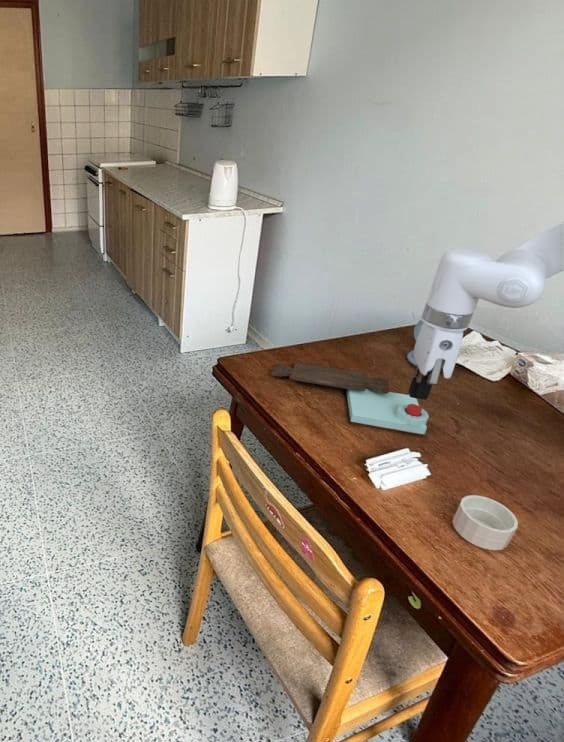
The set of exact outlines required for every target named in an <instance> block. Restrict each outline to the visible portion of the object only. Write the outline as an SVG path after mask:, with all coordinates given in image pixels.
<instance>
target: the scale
mask: <svg viewBox="0 0 564 742" xmlns="http://www.w3.org/2000/svg"><path fill="white" fill-rule="evenodd" d="M346 398H347V406H348V412H349V419H350V422H352V423H358V424H362V425H369V426H374V427H379V428H386V429H390V430H397V431H402V432H408V433H413V434H419V435H426V431H427V423H428V420H429V416H430V415H429V413H428V412H427V411H426V410H425V409H423V408H422V411H421V414H420V416H419V417H415V416H411V415H409V414H407V413H406V409H407V406H408V405H409V404H415V405H418V406H420V404H419V401H418V399H417V398H411V397H410V396H409V394H404V393H400V392H399V393H398V392H393V391H388V393H386V394H382V393H377V392H374V391H372V390H370V389H368V388H366V387H365V391H357V390H350V389H346Z"/></svg>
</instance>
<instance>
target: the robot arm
mask: <svg viewBox="0 0 564 742" xmlns="http://www.w3.org/2000/svg"><path fill="white" fill-rule="evenodd" d="M563 271H564V221H563V222H561V223H558V224H556V225H554V226H552V227H550V228H548V229H546V230H544V231H543V232H541V233H538V234H537V235H535V236H533V237H532V238H529V239H528V240H526V241H524V242H523V243H520V244H519V245H517V246H515V247H513V248H512V249H510V250H508V251H507V252H505V253H504V254H502V255H501V256H500V257H498V258H497V259H496V260H495V261H494V260H493V259H492V257H491V256H490V255H489V254H487V253H486V252H483V251H481V250H477V249H471V248H463V247H462V248H461V247H460V248H450V249H448V250H446V251H445V252H443V254H442V256H441V258H440V260H439V263H438V266H437V269H436V272H435V275H434V278H433V281H432V284H431V286H430V290H429V293H428V296H427V299H426V302H425V305H424V308H423V311H422V314H421V317H420V320H422V321H423V322H424V323H423V325H422V328H421V330H420V333H419V335H418V338H417V341H416V340H415V344H414V348H413V350H414V358H415V360H416V363H417V366H415V370H414V374H413V376H412V379H411V383H410V386H409V388H408V391H407V393H408V395H409V396H410V397H411V398H416V399H417V400H424V401H426V400H428V399H429V396H430V393H431V390H432V388H433V386H437V384H438V380H439V377H440V373H441V374H442V377H443V378H444V379H446V380H449V379H451V378H452V375H453V373H454V370H455V366H456V363H457V361H458V357H459V354H460V350H461V346H462V343H463V337H464V331H467V330H468V328H469V326H470V323H471V320H472V318H473V315H474V313H475V310H476V308H477V305H478V302H479V300H483V301H486V302H488V303H491V304H494V305H496V306H500V307H505V308H511V309H519V308H525V307H529V306H531V305H532V304H534V303H536V302H537V301H538V300H539V299H540V298H541V297H542V295H543V294H544V291H545V289H546V281H547V280H548V279H549V278H551V277H553V276H555V275H557V274H559V273H562V272H563ZM440 370H441V372H440Z"/></svg>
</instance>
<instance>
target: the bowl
mask: <svg viewBox="0 0 564 742" xmlns="http://www.w3.org/2000/svg"><path fill="white" fill-rule="evenodd" d="M451 523H452V525H453V528H454V530H455V531H456V532H457V534H459V535H460V536H461V538H463V539H464V540H465V541H467V542H468V543H470V544H471V545H473V546H475V547H478V548H481V549H485V550H489V551H502V550H504V549H505V548H507V547H508V546H509V544H510V542H511V541H512V538H513V537H514V535H515V533H516V532H517V529H518V525H519V521H518V519H517V517H516V515H515V514H514V513H513V512H512V511H511V510H510V509H509V508H508V507H506V505H504V504H502V503H500V502H499V501H497V500H495V499H492V498H489V497H487V496H483V495H477V494H472V495H466V496H464V497H461V500H460V502H459V503H458V506H457V509H456V510H455V512H454V515H453V517H452V522H451Z"/></svg>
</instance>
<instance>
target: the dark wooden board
mask: <svg viewBox="0 0 564 742" xmlns="http://www.w3.org/2000/svg"><path fill="white" fill-rule="evenodd" d="M270 377H277V378H279V377H281V378H282V377H288V379H289V380H291V381H295V382H296V381H297V382H302V383H308V384H313V385H314V384H315V385H321V386H326V387H328V386H329V387H333V388H337V389H338V388H339V389H345V390H347V389H350V390H357V391H365V388H367V389H370V390H372V391H374V392H377V393H382V394H386V393H388V392H389V390H390V389H389V388H390V387H389V386H390V384H389V380H388V379H385V378H379V377H372V378H370V377H369V378H368V377H367V378H366V372H365V371H358V370H351V369H343V368H336V367H330V366H325V365H324V366H323V365H316V364H311V363H304V362H294V365H293V367H292V366H289V365H286V364H282V363H278V364H277V365H276V366H275V367H274V368H273V369H272V370H271V371H270Z"/></svg>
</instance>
